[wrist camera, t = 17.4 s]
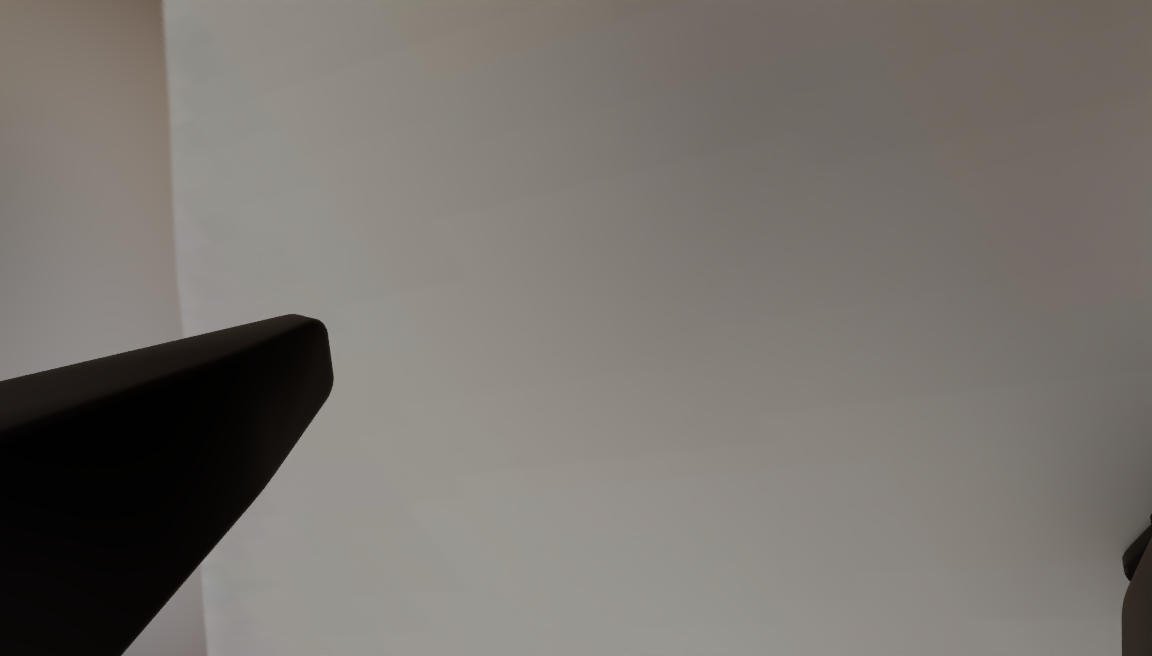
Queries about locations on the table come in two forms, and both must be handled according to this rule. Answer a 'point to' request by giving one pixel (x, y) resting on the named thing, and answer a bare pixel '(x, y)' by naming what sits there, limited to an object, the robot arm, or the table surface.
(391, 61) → the table surface
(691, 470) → the table surface
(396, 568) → the table surface
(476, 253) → the table surface
